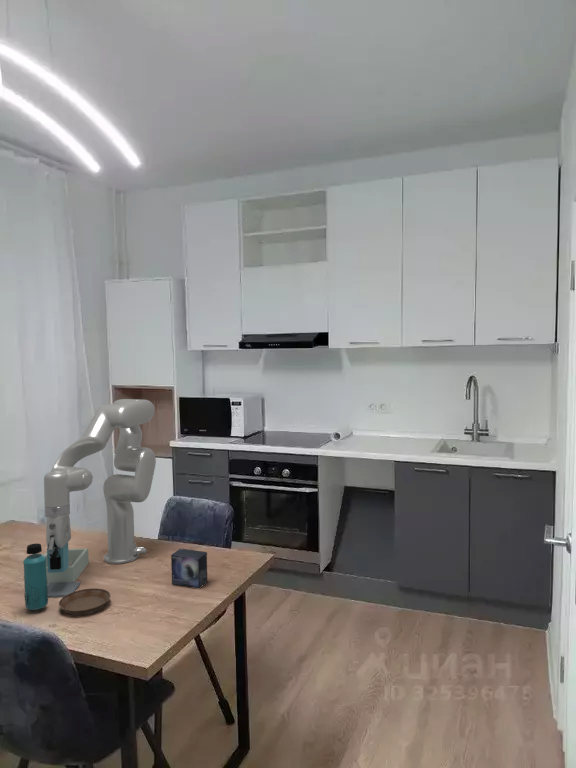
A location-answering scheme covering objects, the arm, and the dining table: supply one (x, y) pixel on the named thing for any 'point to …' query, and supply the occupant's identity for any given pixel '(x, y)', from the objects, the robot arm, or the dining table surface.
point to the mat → (62, 588)
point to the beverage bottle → (35, 578)
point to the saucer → (84, 601)
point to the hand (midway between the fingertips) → (58, 565)
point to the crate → (70, 567)
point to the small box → (189, 568)
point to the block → (63, 559)
